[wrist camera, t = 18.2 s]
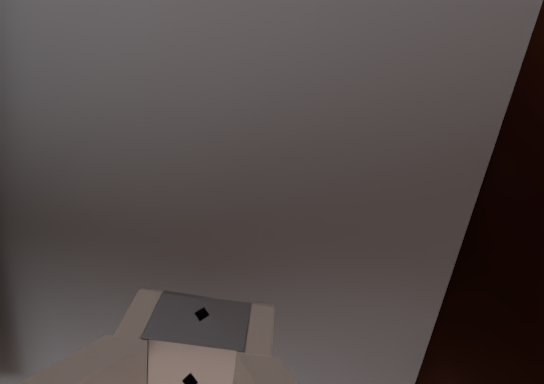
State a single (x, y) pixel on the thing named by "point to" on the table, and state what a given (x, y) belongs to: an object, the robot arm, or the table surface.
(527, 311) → the table surface
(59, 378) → the robot arm
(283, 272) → the grey rectangular mat
